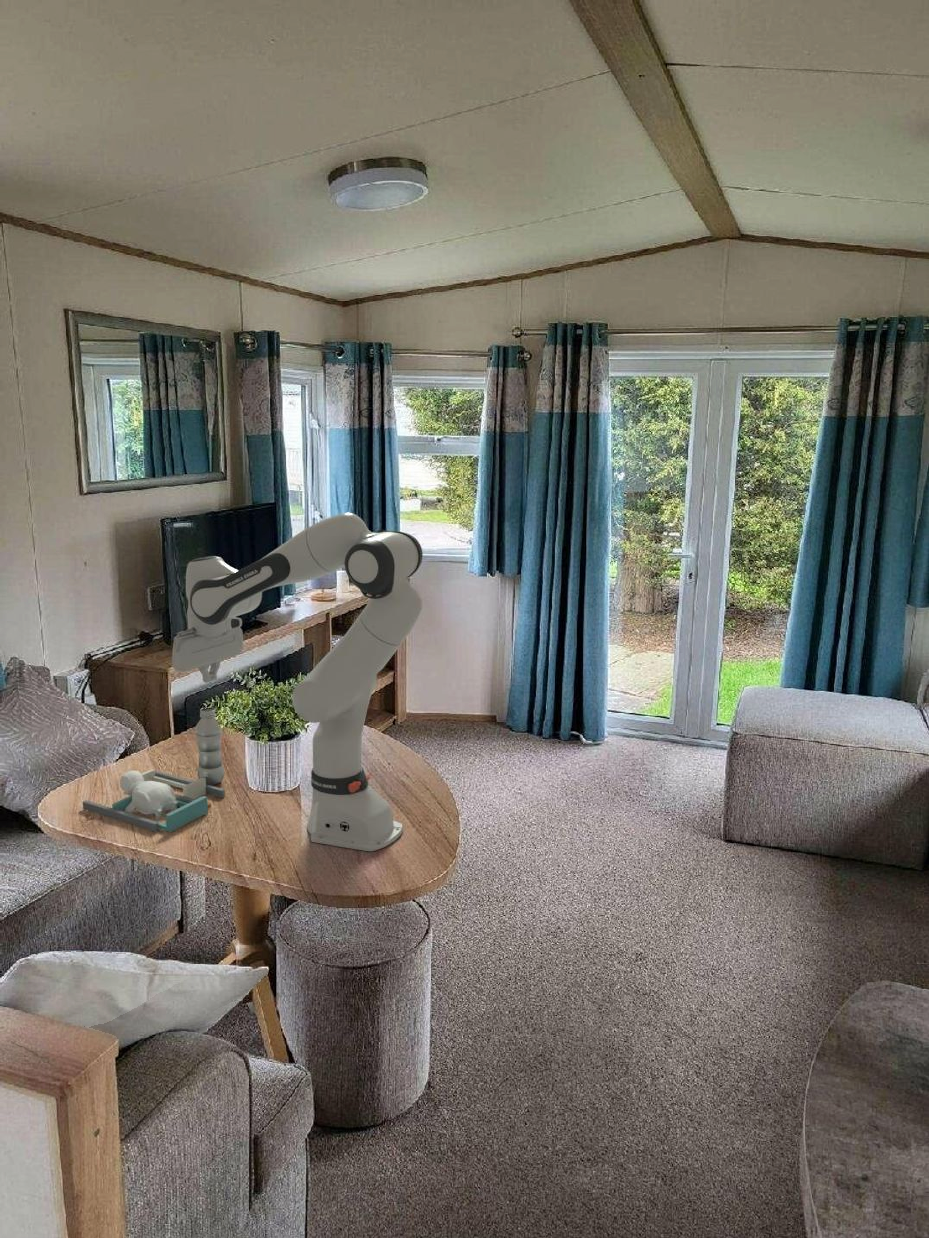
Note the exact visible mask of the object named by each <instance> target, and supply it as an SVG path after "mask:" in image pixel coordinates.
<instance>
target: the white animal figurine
mask: <svg viewBox="0 0 929 1238" xmlns="http://www.w3.org/2000/svg"><path fill="white" fill-rule="evenodd" d="M141 774H142V773H141V772H140V771H139V770H129V771H127V772H125V773H123V774H122V775H121V776H120V781H119V787H120V789H121V790H122V791H124V792H125V793H126V794H127V795H132V801H131V803H130V804H129V805H128V806H127V807H126V809H125V811H124V812H126V813H130V814H131V813H132V812H134V811H136V810H138V811H139V812H140V813H141V814H144V815H154V816H155V821H158V820H160V819H161V815H162V813H164V812H165V811H167V810H171V812H172V811H174V810H176V809H178V808H177V807H178V806H177V803H178V802H177V801H176V797H175V795H174V794H175V793H174V790H173V788H172V786H171V785H168V784H164V783H161V782H157V781H154V780H153V781H145V782H144V778H143V776H142V775H141Z"/></svg>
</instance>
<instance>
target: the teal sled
mask: <svg viewBox="0 0 929 1238" xmlns="http://www.w3.org/2000/svg"><path fill="white" fill-rule="evenodd" d="M131 801H132V794H130V795H129V796H127V797H125V798H122V799H120V800H119V801H116V802H112V803H111V804H112V805H111V808H113V809H116V810H119V811H122V812H124V811H125V809H126V807H127V806H128V805H129V804H130V803H131ZM176 801H177V802H178V803H177V805H176V806H177V807H179V808H176V810H174V811H172V810H171V812H168V813H167V814H165V824H164V823H162V822H158V821H157V820H154V821H155V822H158V823H159V830H162V831H165V832H169V833H172V832H174V831H176V830H177V829H180V828H182V827H183V826H186V825H187V824H189V823H190V822H191V823H192V822H193V821H195V820H197V819H198V818H201V817H202V816H204V815H206V814H208V813H209V808H208V796H205V795H202V796H200V797H198V798H196V800H194V801H192V802H190V803H186V802H183V801H179V800H176ZM129 814H132V813H131V812H130V813H129ZM132 815H135V814H132ZM135 816H137V815H135ZM141 817H142V818H145V817H143V816H141ZM145 819H148V820H150V819H149V818H145Z"/></svg>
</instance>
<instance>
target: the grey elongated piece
mask: <svg viewBox="0 0 929 1238" xmlns="http://www.w3.org/2000/svg"><path fill="white" fill-rule="evenodd" d="M155 771H156V770H155V769H153V768H152V769H149V770H147V771H144V772H143V773H141V775H142V776H143V778H144V782H145V781H156V782H161V783H164V784H167V785H169V786H170V787H176V788H178V789H179V788H180V789H182V793H183V794H182V796H185V797H189V798H192V799H198V798H200V797H202V796H205V795H207V794H206V779H205V778H200V779H198V778H197V779H196V780H193V781H194V782H192V783H190V784H183V783H180V782H176V781H173V780H169V779H165V778H162V777H158V776H155Z"/></svg>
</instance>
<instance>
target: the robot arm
mask: <svg viewBox="0 0 929 1238" xmlns="http://www.w3.org/2000/svg"><path fill="white" fill-rule="evenodd" d="M423 554H424V553H423V548H422V545H421V544H420V542H419V540H418V539H417V538H416V537H415V536H413V535H411V534H409V533H407V532H403V531H399V530H388V529H378V530H376V532H372V531H371V530H369V528H368V526H367V525H366V523H365V521H363V519H362V518H361V517H359V515H357V514H355V513H352V512H343V513H340V514H336V515H333V516H330V517H327V518H324V519H322V520H319V521H318V522H315V523H314V524H312V525H310V526H309V527H306V528H305V529H303V530H301V531H300V532H299V533H297V534H296V535H294V536H292V537H291V538H290V539H288V540H286V542H284V543H283V544H281V545H279V546H278V547H277V548H275V549H274V550H272V551H271V552H269V553H268V554H266V555H265V556H263V557H262V558H260V559H258V560H257V561H255V562H252V563H251V564H249V565H247V566H245V567H243V568H241V569H239V570H238V569H237V568H236V567H235V568H234V567H232V566H230V565H229V563H226V562H225V560H224V559H223V558H222V557H221V556H216V555H209V556H204V557H198V558H194V559H191V560H190V561H189V562H188V563H187V565H186V566H187V567H186V572H185V573H186V574H185V593H186V594H185V595H186V598H187V601H188V606H187V610H186V611H187V612H186V615H187V616H186V617H187V619H186V620H187V629H185V630H181V631H179V632H177V634H176V635H175V637H174V638H173V645H172V653H171V654H172V656H171V664H172V668H173V669H174V670H175V671H177V672H182V673H186V672H189V671H192V670H193V671H194V670H195V669H198V671H199V672H200V673H201V675H202V681H203V683H210V682H213V681H216V680H217V679H218V674H217V673H218V670H219V668H220V667H221V661H223V660H227V659H230V658H233V657H236V656H240V655H241V654H242V652H243V650H244V635H243V634H244V633H243V629H242V628H241V627H242V625H243V620H242V618H241V617H239V616H241V615H245V614H247V613H251V612H253V611H254V610H256V609H258V608H259V606H260V604H261V603H262V600H263V592H265V591H267V590H270V589H272V588H276V587H281V586H282V587H283V586H286V585H287V586H288V585H292V584H297V583H303V582H307V581H312V580H315V579H319V578H322V577H325V576H327V575H328V576H329V575H330V574H332V573H334V572H336V571H338V570H340V569H341V568H343V567H344V569H345V573H346V576H347V577H348V579H349V581H350V582H351V583H352V584H353V585H354V586H355V587H356V588H358V589H359V590H360V593H361V594H362V596H364V597H365V598H367V599H370V600H369V602H367V604H366V606H365V607H364V608H363V610H362V611H361V613H360V614H359V615H358V616H357V618H356V619H355V621H354V622H353V623H352V625H351V626H350V628H349V629H348V630H347V631H346V633H345V634H344V635H343V637H341V639H340V640H339V641H338V642H337V644H336V645H334V646H333V647H332V648H331V649H330V651H328V652H327V653H326V655H325V656H324V657H322V659H321V660H320V661H319V662H318V663H317V664H316V665H315V667H314V668H313V669H311V671H310V672H309V673H308V674H307V675H306V676H305V678H303V679H302V680H301V681H300V682H299V683H298V684H297V685H296V686H295V688H294V689H293V692H292V698H291V700H292V706H293V709H294V710H295V712H296V714H297V716H298V717H300V718H301V719H303V721H305V722H308V723H314V724H316V723H318V726H317V728H316V730H315V731H314V733H313V737H312V768H311V776H310V784H311V787H312V799H311V807H310V808H311V809H310V814H309V817H308V822H307V824H306V829H307V831H308V833H309V834H310V841H311V842H312V843H317V844H322V845H323V844H324V845H328V846H334V847H340V848H347V849H353V850H359V851H365V852H374V851H378V850H380V849H383V848H385V847H387V846H389V845H391V844H393V842H395V841H396V840H398V838H399V837H401V835H402V834H403V831H404V828H403V827H404V826H403V824H402V823H400V822H399V821H396V820H394V815H393V811H392V807H391V806H390V804H389V802H387V801H386V800H385V799H384V798H383V797H382V796H381V795H380V794H379V793H377V791H376V790H375V789H373V788H372V787H371V785H369V780H371V779H372V773H369V774H368V775H366V772H365V770H364V768H363V766H362V747H363V746H362V744H363V743H362V742H363V741H362V739H363V732H364V727H365V721H366V717H367V711H368V708H369V704H370V700H371V697H372V695H373V692H374V690H375V689H376V687H377V684H378V683H377V682H378V675H377V674H378V673H379V672H380V671H382V670H383V669H384V668H385V667H386V665H387V663H388V662H389V661H390V660H391V658H392V657H393V656H394V654H395V653H396V652H397V650H398V649H400V646H401V645H402V644H403V643H404V641H405V640H406V639H407V637H408V636H409V634H410V632H411V631H412V629H413V628H414V626H415V624H416V623H417V621H418V618H419V617H420V614H421V612H422V609H423V602H422V599H421V596H420V594H419V593H418V591H416V590H415V589H414V588H413V587H412V586H411V585H410V583H409V580H408V579H409V578H410V577H412V576H413V575H414V574H415V573H416V572H417V571H418V570H419V568H420V567H421V565H422V562H423Z"/></svg>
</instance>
